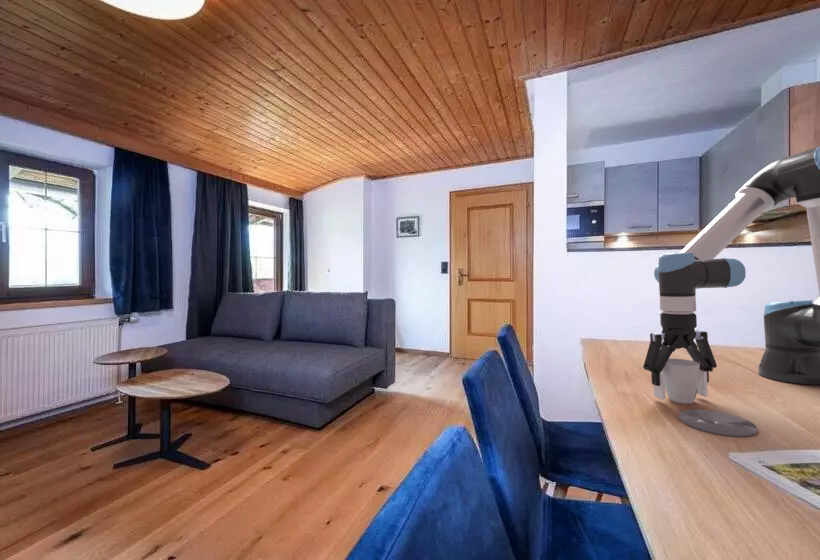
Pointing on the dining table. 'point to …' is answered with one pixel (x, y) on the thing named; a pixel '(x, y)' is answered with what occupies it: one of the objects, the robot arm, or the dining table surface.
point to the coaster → (718, 423)
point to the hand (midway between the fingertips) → (680, 396)
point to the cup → (681, 380)
